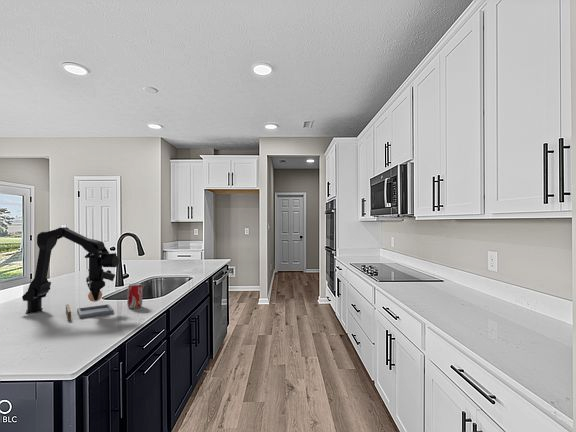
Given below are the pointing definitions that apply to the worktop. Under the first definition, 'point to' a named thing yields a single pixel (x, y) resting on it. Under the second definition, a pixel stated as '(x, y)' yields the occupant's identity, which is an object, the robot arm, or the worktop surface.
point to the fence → (68, 312)
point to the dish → (94, 311)
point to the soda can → (134, 295)
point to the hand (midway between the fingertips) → (95, 299)
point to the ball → (93, 298)
